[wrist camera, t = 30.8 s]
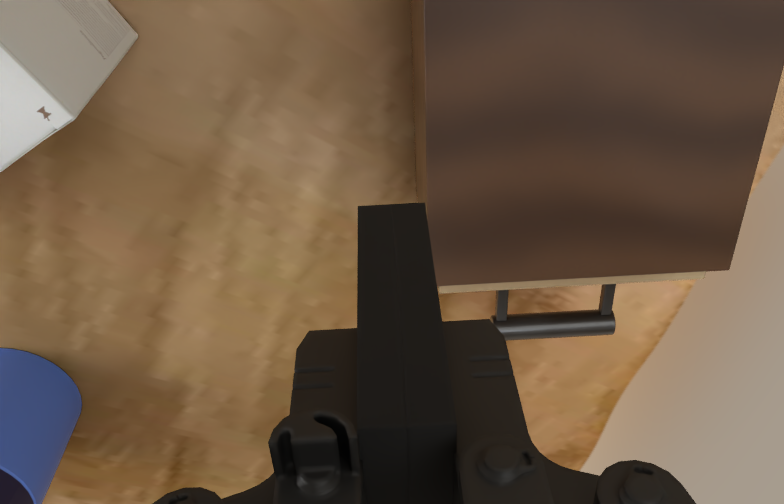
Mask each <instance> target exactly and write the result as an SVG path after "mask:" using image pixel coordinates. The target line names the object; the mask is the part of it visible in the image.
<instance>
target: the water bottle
mask: <svg viewBox="0 0 784 504" xmlns="http://www.w3.org/2000/svg"><path fill="white" fill-rule="evenodd" d="M81 408H82V401H81V395H80V393H79V390H78V388H77V386H76V385H75V383H74V382H73V380H72V379H71V378H70V377H69V376H68V375H67V374H66V373H65V372H64V371H63V370H62V369H60V368H59V367H58V366H56V365H55V364H53V363H52V362H50V361H48V360H46V359H44V358H42V357H40V356H37V355H34V354H32V353H29V352H25V351H21V350H16V349H7V348H0V504H42V502H43V500H44V497H45V495H46V493H47V491H48V488H49V486H50V484H51V481H52V479H53V477H54V475H55V472H56V470H57V467H58V465H59V463H60V460H61V458H62V456H63V453H64V451H65V449H66V446H67V444H68V442H69V439H70V437H71V435H72V432H73V430H74V428H75V425H76V423H77V421H78V418H79V416H80V413H81Z"/></svg>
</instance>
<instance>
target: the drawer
mask: <svg viewBox="0 0 784 504" xmlns="http://www.w3.org/2000/svg"><path fill="white" fill-rule="evenodd" d="M705 274H706V271H704V272H686V273H668V274H650V275H632V276H614V277H597V278H579V279H561V280H543V281H525V282H507V283H489V284H471V285H453V286H438V288H439V293H441V294H442V293H460V292H477V291H495V290H496V307H495V315H492V316H491V317H490V321H491V322H492V323H493V324H494V325H495V326H496V327H497V328H498V330H499V331H500V332H501V333H502V334H503V335H504V337H505V341H508V340H525V339H543V338H561V337H579V336H597V335H612V334H614V332H615V317H614V313H613V311H612V305H613V299H614V293H615V287H616V284H621V283H638V282H656V281H674V280H692V279H704V278H705ZM585 285H602V290H601V296H600V303H599V309H598V310H580V311H562V312H544V313H526V314H508V315H507V308H508V291H509V290H513V289H531V288H549V287H567V286H585Z"/></svg>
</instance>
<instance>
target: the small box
mask: <svg viewBox="0 0 784 504" xmlns="http://www.w3.org/2000/svg"><path fill="white" fill-rule="evenodd" d="M137 38H138V34H137V33H136V32H135V31H134V30H133V28H132V27H131V26H130V25H129V24H128V23H127V22H126V20H125V19H124V18H123V17H122V16H121V15H120V14H119V12H118V11H117V10H116V9H115V8H114V7H113V6H112V4H111V3H110V2H109V1H108V0H0V172H2V171H3V170H4V169H6V168H7V167H8V166H10V165H11V164H12V163H14V162H15V161H16V160H18V159H19V158H21V157H22V156H23V155H25V154H26V153H27V152H29V151H30V150H31V149H33V148H34V147H35V146H37V145H38V144H40V143H41V142H42V141H44V140H45V139H47V138H48V137H50V136H51V135H52V134H54V133H55V132H57V131H58V130H60V129H62V128H63V127H65V126H66V125H68V124H69V123H71V122H72V121H74V120H75V119H76V118H77V116H78V115H79V114H80V112H81V111H82V110H83V108H84V107H85V106H86V105H87V103H88V102H89V101H90V99H91V98H92V97H93V95H94V94H95V93H96V92H97V90H98V89H99V88H100V87H101V86H102V84H103V83H104V82H105V80H106V79H107V78H108V77H109V75H110V74H111V73H112V72H113V70H114V69H115V68H116V66H117V65H118V64H119V63H120V61H121V60H122V59H123V57H124V56H125V55H126V53H127V52H128V51H129V49H130V48H131V47H132V45H133V44H134V43H135V41H136V40H137Z"/></svg>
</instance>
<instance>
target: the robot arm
mask: <svg viewBox="0 0 784 504" xmlns="http://www.w3.org/2000/svg"><path fill="white" fill-rule="evenodd" d="M268 443H269V448H270V453H271V458H272V463H273V468H274V473H273V474H272V475H271V476H270V477H269V478H268V479H266V480H265V481H264V482H262V483H261V484H259V485H258V486H255V487H253V488H251V489H249V490H246V491H244V492H241V493H238V494H235V495H232V496H229V497H226V498H223V499H221V498H220V497H219V496H218V495H217V494H216V493H215V492H212V491H209V490H207V489H204V488H201V487H198V488H182V489H179V490H176V491H173V492H170V493H167V494H166V495H164V496H163V497H162V498H160V499H159V500H157V501H156V502H154V503H153V504H696V503H695V502H694V500H693V499H692V498H691V496H690V495H689V494H688V492H687V491H686V489H685V488H684V487H683V486H682V484H681V483H680V482H679V481H678V480H677V479H676V478H675V477H673V476H672V475H671V474H670V473H669V472H668V471H666V470H664V469H662V468H660V467H658V466H656V465H654V464H651V463H647V462H642V461H637V460H632V461H621V462H617V463H615V464H613V465H611V466H609V467H607V468H606V469H605V470H604V471H603V473H602V474H601V475H600V476H598V475H594V474H589V473H584V472H580V471H575V470H572V469H568V468H565V467H562V466H560V465H558V464H556V463H554V462H552V461H550V460H549V459H547V458H546V457H545V456H544V455H542V454H541V453H540V452H539V451H538V450H537V448H536V447H535V446H534V444H533V443H532V441H531V438H530V436H529V434H528V430H527V426H526V422H525V418H524V414H523V410H522V406H521V402H520V398H519V394H518V390H517V386H516V382H515V378H514V376H513V369H512V365H511V361H510V360H509V353H508V349H507V345H506V341H505V337H504V335H503V334H502V333H501V332H500V331H499V330H498V328H497V327H496V326H495V325H494V324H493V323H492V322H491V321H490V319H483V320H465V321H447V322H442V318H441V311H440V304H439V297H438V290H437V283H436V276H435V269H434V263H433V256H432V249H431V242H430V235H429V228H428V221H427V214H426V207H425V203H408V204H390V205H372V206H358V299H357V328H351V329H334V330H316V331H309V332H308V333H307V335H306V336H305V338H304V339H303V341H302V342H301V344H300V345H299V347H298V348H297V351H296V360H295V373H294V379H293V390H292V397H291V407H290V415H289V416H287V417H285V418H284V419H283V420H282V421H281V422H280V423H279V424H278V425H277V426H276V427H275V428H274V429H273V432H272V434H271V437H270V439H269V442H268Z"/></svg>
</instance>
